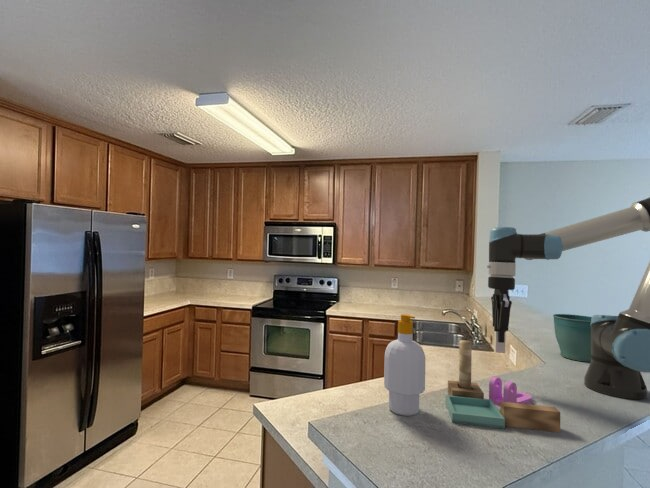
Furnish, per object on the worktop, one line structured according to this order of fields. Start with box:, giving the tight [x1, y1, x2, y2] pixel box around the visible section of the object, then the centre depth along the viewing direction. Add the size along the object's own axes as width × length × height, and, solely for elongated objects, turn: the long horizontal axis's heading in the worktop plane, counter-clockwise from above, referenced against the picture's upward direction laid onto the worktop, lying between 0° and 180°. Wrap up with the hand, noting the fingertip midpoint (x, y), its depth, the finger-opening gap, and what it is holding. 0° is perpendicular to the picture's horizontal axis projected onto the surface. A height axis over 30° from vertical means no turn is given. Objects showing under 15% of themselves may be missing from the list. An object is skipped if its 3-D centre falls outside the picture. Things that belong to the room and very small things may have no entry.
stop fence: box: [499, 401, 561, 433], centre depth 83 cm, size 12×3×4 cm, turn 79°
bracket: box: [488, 375, 533, 408], centre depth 97 cm, size 13×6×7 cm, turn 121°
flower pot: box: [552, 313, 592, 363], centre depth 146 cm, size 18×18×17 cm
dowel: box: [458, 339, 473, 389], centre depth 98 cm, size 3×3×16 cm
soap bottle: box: [383, 313, 426, 417], centre depth 90 cm, size 10×10×24 cm
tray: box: [444, 394, 506, 429], centre depth 88 cm, size 12×12×2 cm
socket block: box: [447, 380, 485, 399], centre depth 98 cm, size 8×8×4 cm
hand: (499, 352), depth 109 cm, fingers closed
